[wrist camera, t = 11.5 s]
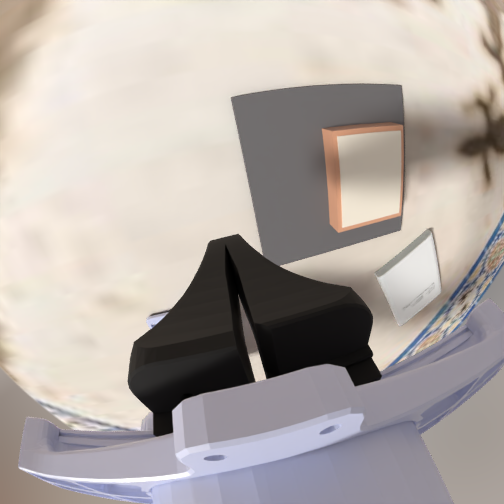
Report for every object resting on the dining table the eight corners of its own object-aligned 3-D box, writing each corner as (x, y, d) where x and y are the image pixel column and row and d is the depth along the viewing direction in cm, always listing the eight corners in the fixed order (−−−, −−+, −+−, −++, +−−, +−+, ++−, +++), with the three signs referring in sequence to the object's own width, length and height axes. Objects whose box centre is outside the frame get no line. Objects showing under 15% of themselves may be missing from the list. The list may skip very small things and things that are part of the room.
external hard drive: (424, 226, 26) (436, 285, 32) (371, 270, 28) (394, 320, 34) (433, 232, 25) (443, 292, 31) (378, 278, 26) (400, 328, 33)
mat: (398, 228, 24) (400, 230, 24) (265, 266, 24) (266, 269, 23) (398, 85, 17) (401, 85, 16) (230, 97, 16) (231, 97, 16)
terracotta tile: (329, 223, 22) (390, 208, 23) (338, 233, 21) (401, 216, 21) (321, 128, 18) (390, 122, 18) (332, 131, 16) (403, 125, 17)
